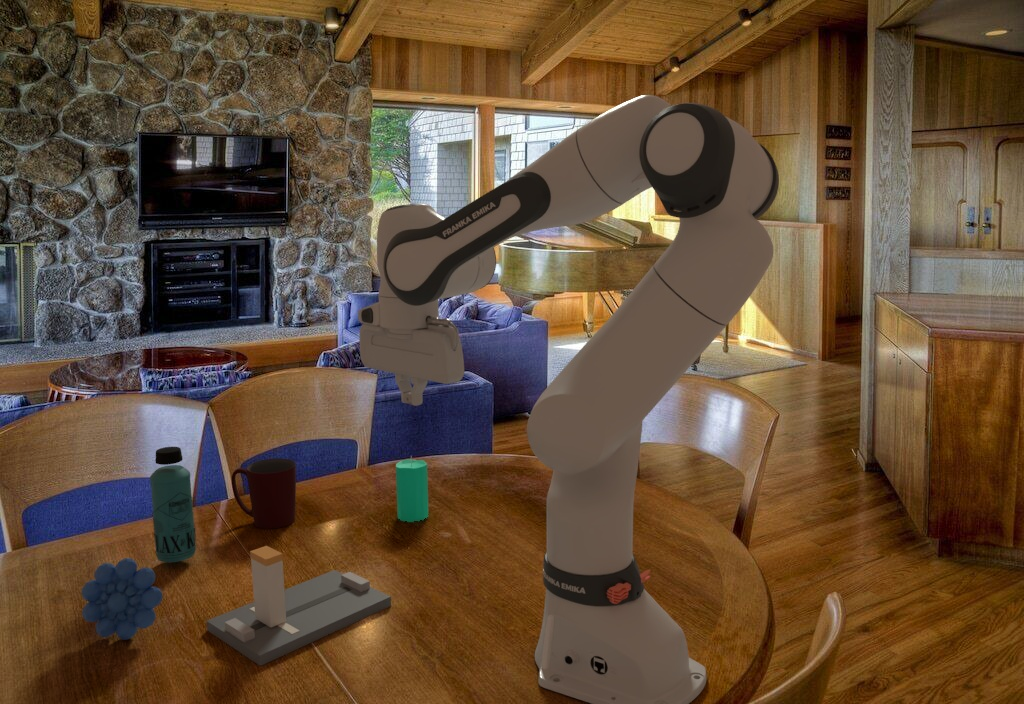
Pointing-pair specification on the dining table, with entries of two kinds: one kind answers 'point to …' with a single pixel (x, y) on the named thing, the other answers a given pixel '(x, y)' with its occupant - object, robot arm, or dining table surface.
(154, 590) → the blue flower
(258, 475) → the mug
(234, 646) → the board
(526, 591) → the dining table surface
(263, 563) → the fader tab
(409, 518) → the candle
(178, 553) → the beverage bottle
